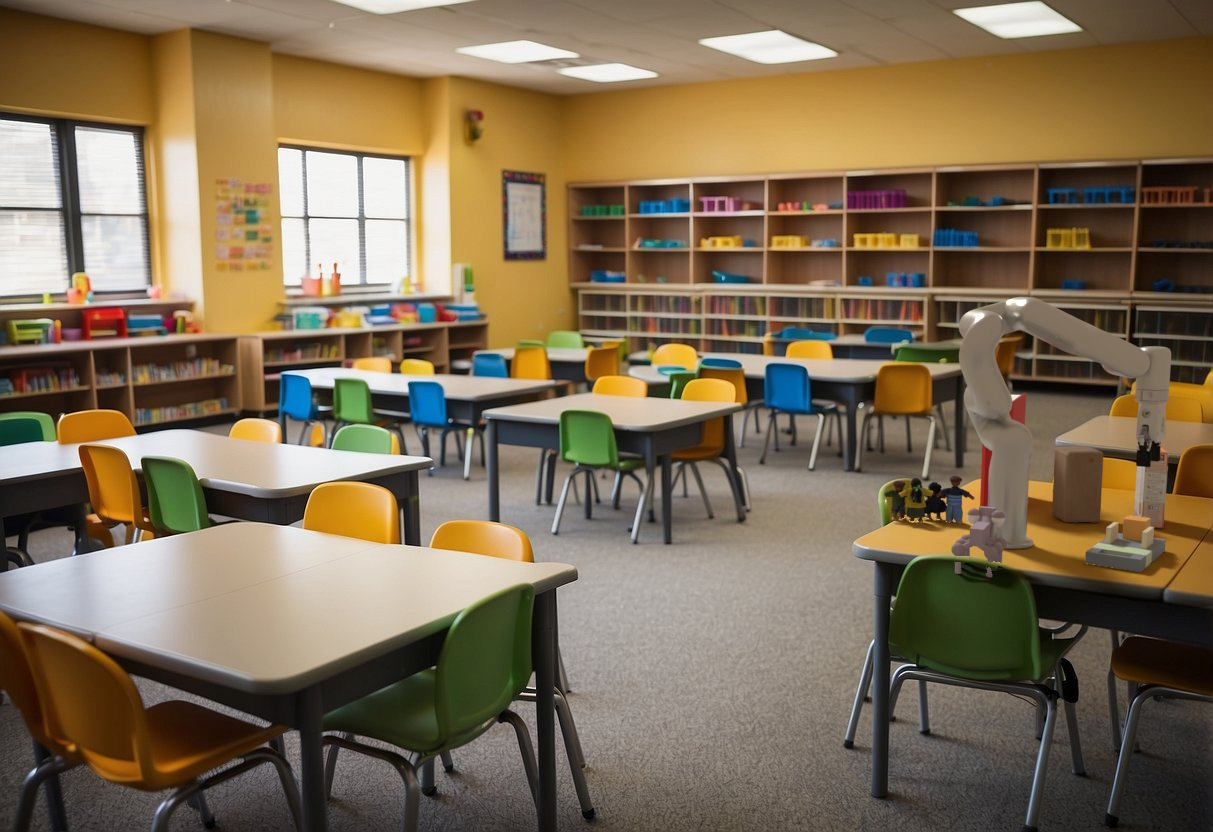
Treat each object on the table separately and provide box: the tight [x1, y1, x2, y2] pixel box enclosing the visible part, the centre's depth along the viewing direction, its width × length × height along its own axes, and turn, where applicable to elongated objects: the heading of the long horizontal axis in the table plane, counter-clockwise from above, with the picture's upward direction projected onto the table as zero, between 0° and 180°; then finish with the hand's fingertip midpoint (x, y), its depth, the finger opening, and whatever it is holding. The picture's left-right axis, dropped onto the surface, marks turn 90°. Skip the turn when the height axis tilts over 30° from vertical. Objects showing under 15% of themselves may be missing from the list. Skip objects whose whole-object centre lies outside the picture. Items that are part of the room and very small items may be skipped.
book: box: [979, 392, 1027, 507], centre depth 321 cm, size 27×8×32 cm, turn 151°
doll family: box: [884, 475, 975, 524], centre depth 300 cm, size 23×9×13 cm, turn 91°
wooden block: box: [1051, 445, 1104, 523], centre depth 299 cm, size 10×10×20 cm
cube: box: [1122, 514, 1151, 541], centre depth 267 cm, size 5×5×5 cm
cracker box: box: [1133, 446, 1170, 530], centre depth 294 cm, size 14×6×21 cm, turn 161°
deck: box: [1084, 521, 1167, 573], centre depth 260 cm, size 24×12×7 cm, turn 141°
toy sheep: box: [950, 505, 1007, 578], centre depth 254 cm, size 20×11×14 cm, turn 150°
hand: (1148, 463), depth 271 cm, fingers open, 9 cm apart
